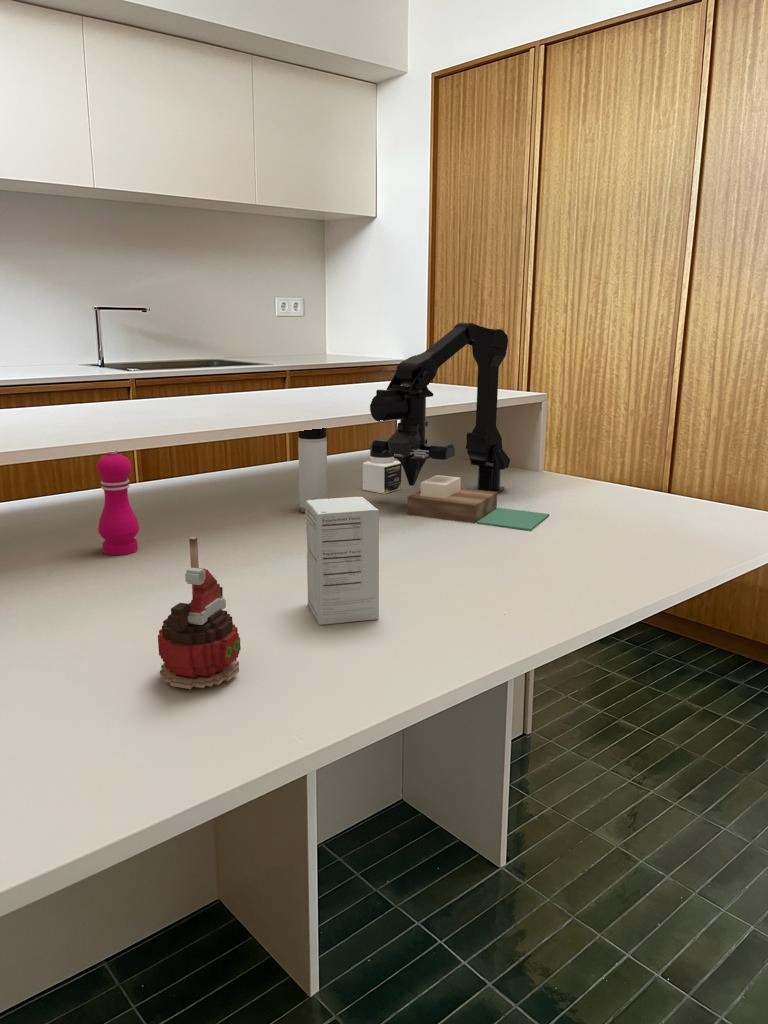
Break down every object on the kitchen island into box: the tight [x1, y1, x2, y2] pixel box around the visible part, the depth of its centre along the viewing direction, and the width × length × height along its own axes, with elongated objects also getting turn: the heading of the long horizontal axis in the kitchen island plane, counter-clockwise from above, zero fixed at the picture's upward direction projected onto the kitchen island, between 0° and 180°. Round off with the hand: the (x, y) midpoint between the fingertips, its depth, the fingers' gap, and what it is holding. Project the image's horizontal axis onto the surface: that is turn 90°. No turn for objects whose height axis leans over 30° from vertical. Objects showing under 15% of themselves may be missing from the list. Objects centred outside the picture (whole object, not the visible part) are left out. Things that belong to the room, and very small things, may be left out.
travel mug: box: [297, 427, 328, 514], centre depth 177 cm, size 6×7×20 cm
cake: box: [157, 536, 242, 690], centre depth 97 cm, size 11×9×18 cm
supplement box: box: [305, 496, 380, 626], centre depth 119 cm, size 10×9×17 cm
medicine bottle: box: [362, 444, 403, 495], centre depth 199 cm, size 7×7×12 cm
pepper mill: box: [96, 451, 140, 556], centre depth 147 cm, size 7×7×20 cm
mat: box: [475, 507, 550, 532], centre depth 173 cm, size 14×12×1 cm
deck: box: [406, 487, 498, 524], centre depth 179 cm, size 14×16×4 cm
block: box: [420, 474, 462, 499], centre depth 179 cm, size 9×6×3 cm, turn 153°
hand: (411, 485), depth 183 cm, fingers closed
